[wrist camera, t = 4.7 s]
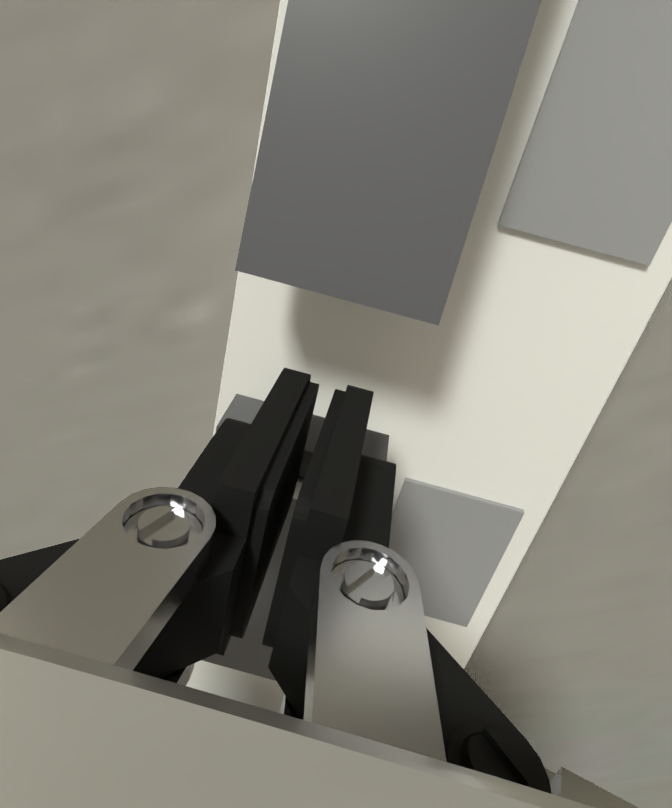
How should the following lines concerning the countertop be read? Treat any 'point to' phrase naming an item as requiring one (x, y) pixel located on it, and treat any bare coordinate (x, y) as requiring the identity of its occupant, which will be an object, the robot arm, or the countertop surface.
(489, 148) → the block
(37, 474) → the countertop surface
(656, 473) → the countertop surface
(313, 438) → the middle rocker
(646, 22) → the power strip
